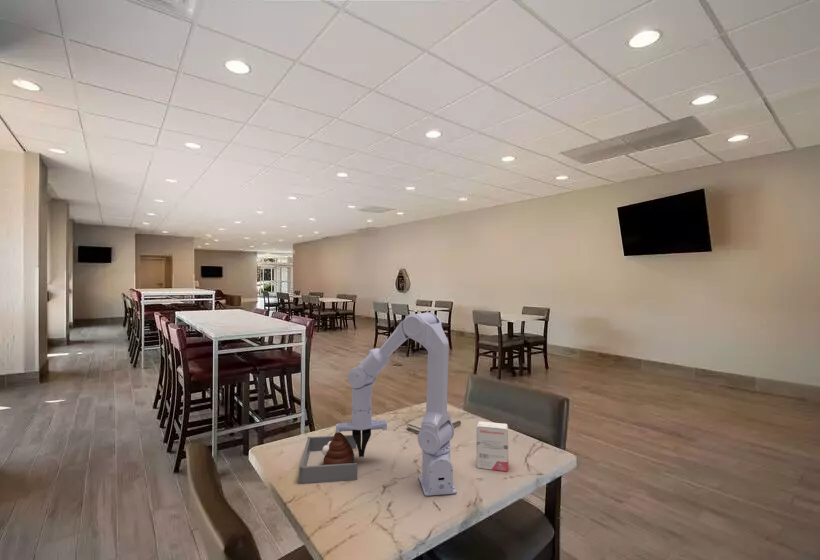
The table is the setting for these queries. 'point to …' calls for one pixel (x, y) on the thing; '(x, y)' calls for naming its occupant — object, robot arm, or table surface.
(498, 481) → the table surface
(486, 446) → the ink box
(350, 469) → the bin
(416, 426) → the washcloth
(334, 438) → the poop emoji
